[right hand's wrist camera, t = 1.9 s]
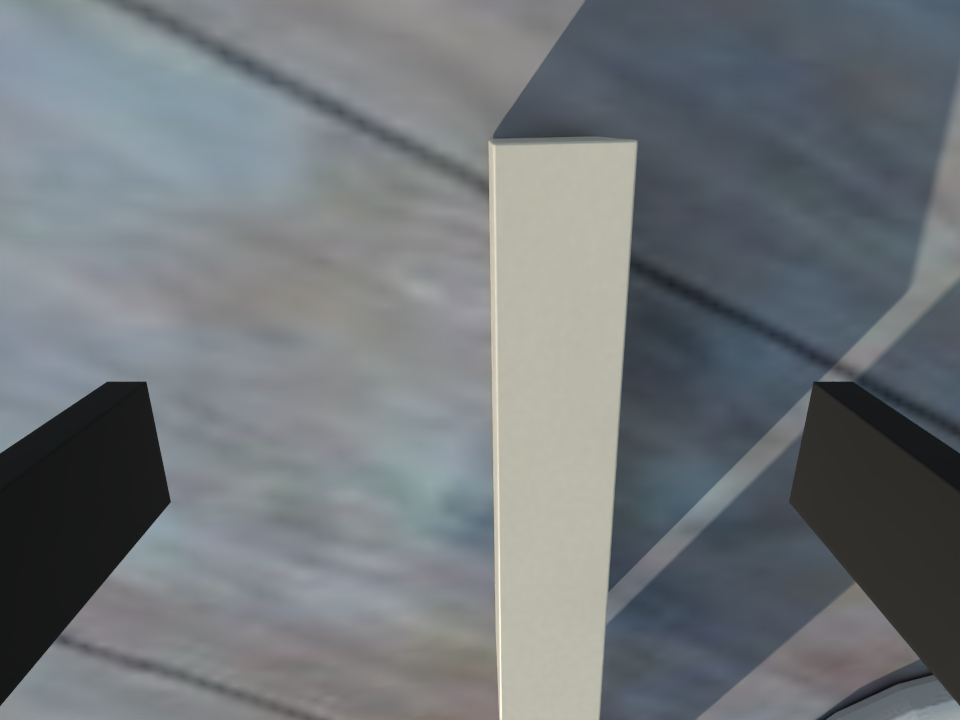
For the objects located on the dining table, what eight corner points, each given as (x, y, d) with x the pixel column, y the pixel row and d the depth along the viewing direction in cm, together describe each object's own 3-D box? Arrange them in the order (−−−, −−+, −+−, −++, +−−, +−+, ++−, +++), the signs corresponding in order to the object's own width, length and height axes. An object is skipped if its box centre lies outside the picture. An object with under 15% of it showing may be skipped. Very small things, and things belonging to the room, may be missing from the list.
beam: (488, 138, 26) (492, 142, 19) (597, 136, 26) (638, 139, 19) (495, 628, 35) (500, 744, 28) (575, 626, 35) (598, 743, 28)
